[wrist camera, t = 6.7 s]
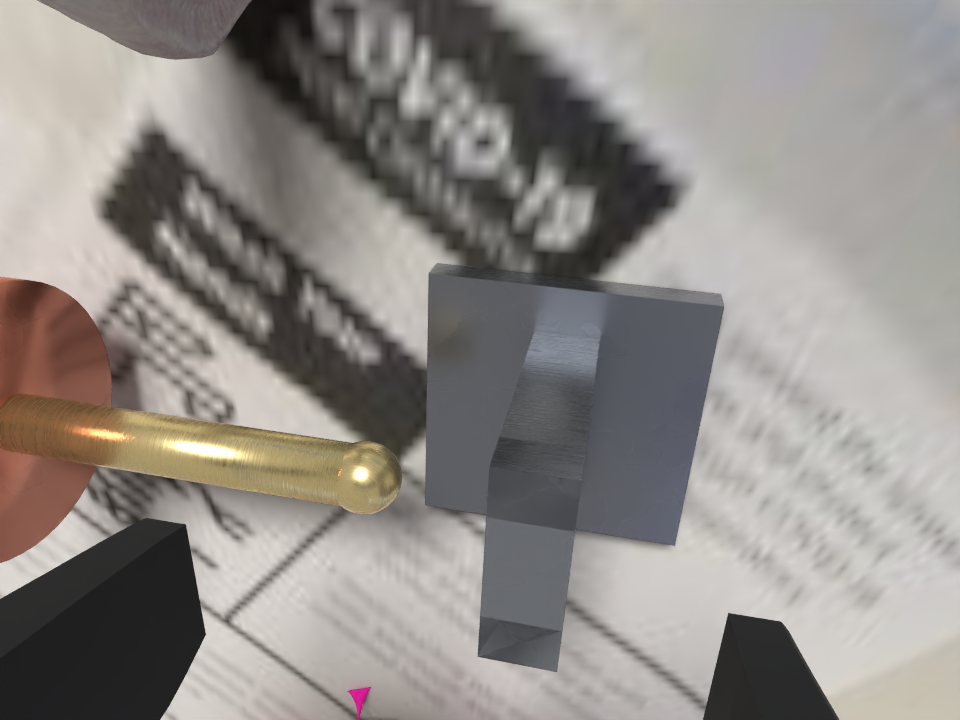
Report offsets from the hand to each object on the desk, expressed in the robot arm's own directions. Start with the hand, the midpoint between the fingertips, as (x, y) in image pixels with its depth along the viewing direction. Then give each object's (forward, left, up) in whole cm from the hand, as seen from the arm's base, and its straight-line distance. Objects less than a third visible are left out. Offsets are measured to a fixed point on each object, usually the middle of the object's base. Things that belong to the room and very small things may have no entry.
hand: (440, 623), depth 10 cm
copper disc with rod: (+6, +6, -9) cm, 12 cm away
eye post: (-2, +1, -10) cm, 11 cm away
